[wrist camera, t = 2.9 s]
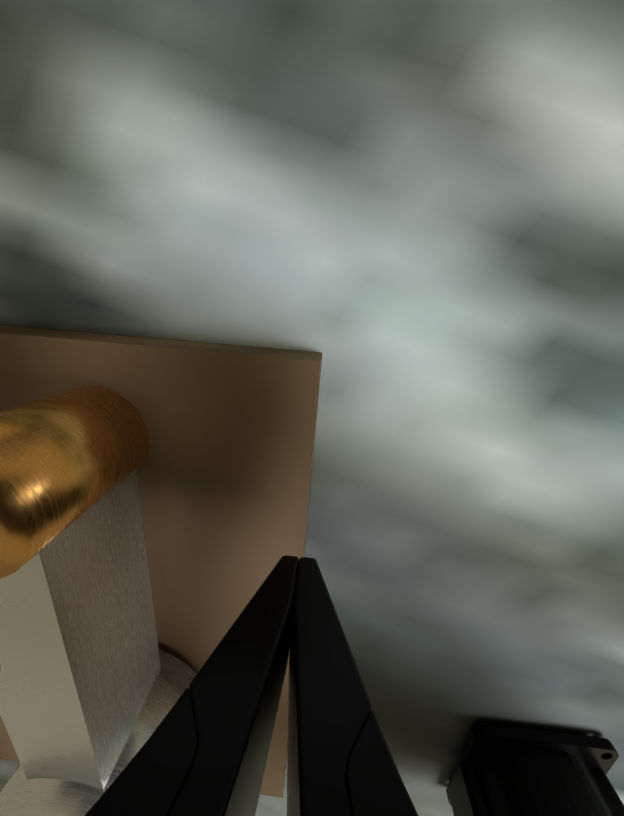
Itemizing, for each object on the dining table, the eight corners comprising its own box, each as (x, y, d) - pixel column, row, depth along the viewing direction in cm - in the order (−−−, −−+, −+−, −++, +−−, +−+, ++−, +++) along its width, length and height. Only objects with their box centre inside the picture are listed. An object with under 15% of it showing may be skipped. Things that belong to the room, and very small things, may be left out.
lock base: (322, 352, 9) (320, 362, 8) (286, 755, 17) (281, 803, 15) (-275, 301, 10) (-391, 299, 8) (-62, 709, 17) (-103, 751, 16)
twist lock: (207, 730, 13) (151, 926, 9) (96, 716, 13) (-10, 902, 9) (188, 392, 8) (42, 480, 4) (10, 375, 8) (-305, 445, 4)
